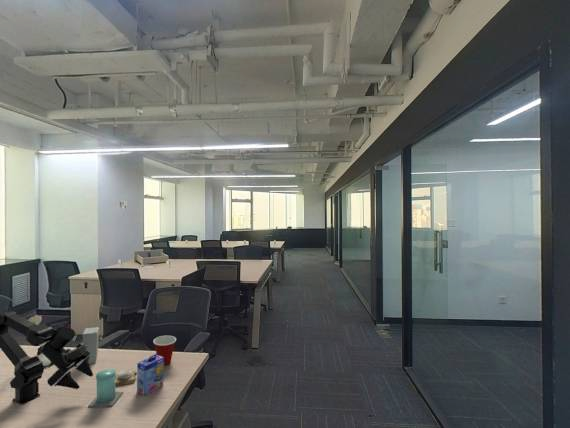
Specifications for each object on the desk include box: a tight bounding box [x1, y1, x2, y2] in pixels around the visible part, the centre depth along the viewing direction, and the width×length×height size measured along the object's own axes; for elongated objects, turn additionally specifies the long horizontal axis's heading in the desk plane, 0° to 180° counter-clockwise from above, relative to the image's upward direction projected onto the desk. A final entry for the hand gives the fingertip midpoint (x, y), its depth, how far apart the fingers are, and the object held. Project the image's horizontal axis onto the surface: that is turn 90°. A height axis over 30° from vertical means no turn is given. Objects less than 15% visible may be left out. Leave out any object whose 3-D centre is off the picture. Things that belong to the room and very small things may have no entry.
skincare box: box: [81, 326, 100, 365], centre depth 157 cm, size 8×7×16 cm
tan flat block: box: [115, 369, 137, 387], centre depth 138 cm, size 9×8×3 cm
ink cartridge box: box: [136, 353, 165, 396], centre depth 132 cm, size 10×6×14 cm, turn 152°
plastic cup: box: [153, 335, 177, 367], centre depth 154 cm, size 11×11×12 cm
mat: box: [87, 391, 124, 408], centre depth 123 cm, size 9×9×1 cm
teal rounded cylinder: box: [95, 368, 117, 403], centre depth 123 cm, size 7×7×10 cm
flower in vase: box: [27, 314, 51, 367], centre depth 153 cm, size 13×11×25 cm
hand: (85, 381), depth 123 cm, fingers open, 9 cm apart
